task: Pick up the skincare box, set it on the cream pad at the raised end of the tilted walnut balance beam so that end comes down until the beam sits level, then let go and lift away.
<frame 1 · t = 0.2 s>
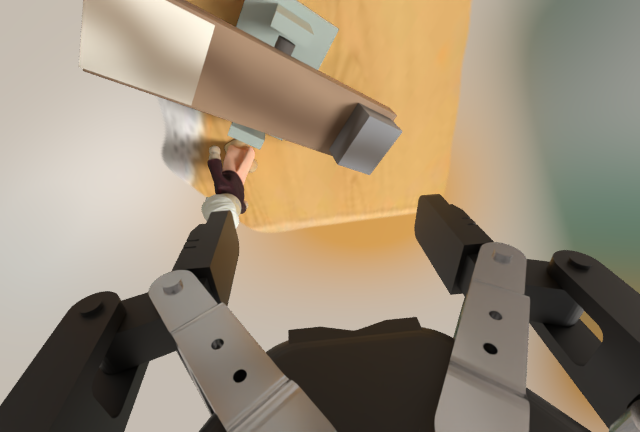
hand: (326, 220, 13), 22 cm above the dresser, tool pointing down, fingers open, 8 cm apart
beam: (271, 95, 23), point 8 cm above the dresser, hinge at -15.0°
beam stand: (270, 67, 29), on the dresser
grandmother figurine: (239, 151, 35), on the dresser
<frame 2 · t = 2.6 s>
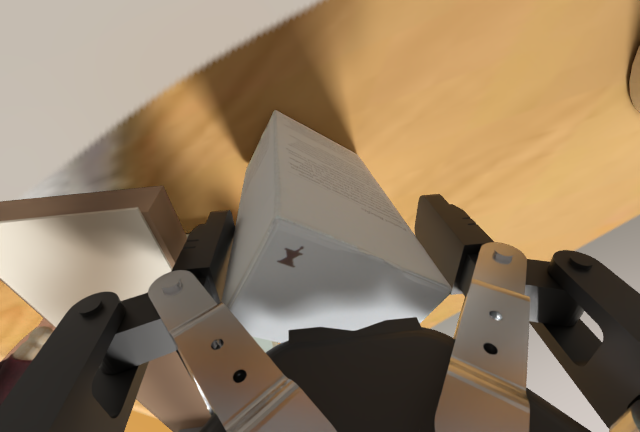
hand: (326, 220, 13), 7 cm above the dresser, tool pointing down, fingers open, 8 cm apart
skincare box: (303, 161, 19), on the dresser, touching gripper
beam: (180, 376, 16), point 8 cm above the dresser, hinge at -6.0°, touching gripper
grandmother figurine: (84, 291, 23), on the dresser
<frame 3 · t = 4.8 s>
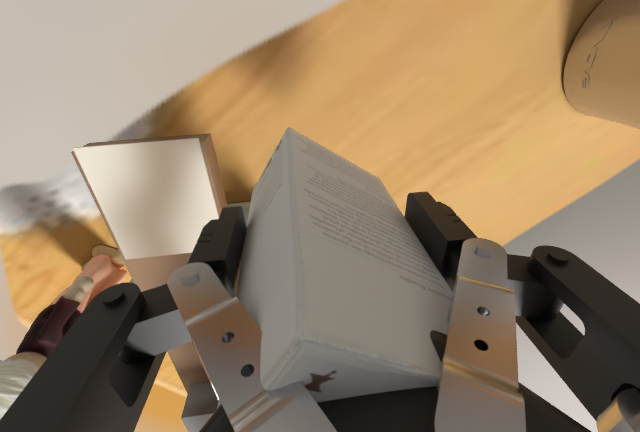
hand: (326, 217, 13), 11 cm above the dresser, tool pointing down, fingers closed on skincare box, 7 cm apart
skincare box: (317, 183, 17), point 7 cm above the dresser, touching gripper
beam: (201, 313, 20), point 8 cm above the dresser, hinge at 1.7°
grandmother figurine: (109, 259, 26), on the dresser
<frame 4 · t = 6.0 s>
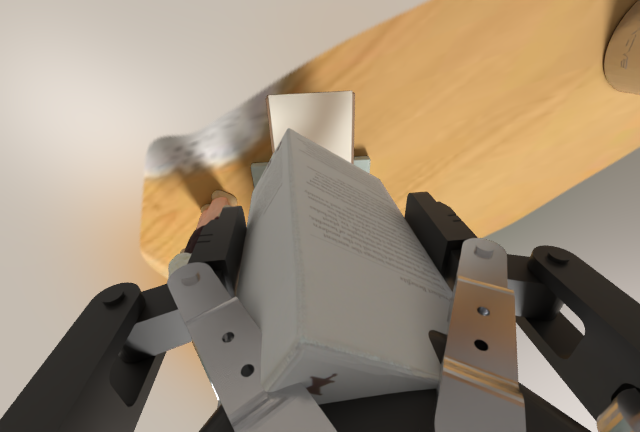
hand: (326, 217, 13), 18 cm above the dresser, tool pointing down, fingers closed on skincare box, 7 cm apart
skincare box: (317, 184, 17), point 14 cm above the dresser, touching gripper
beam: (317, 234, 26), point 8 cm above the dresser, hinge at 1.7°
beam stand: (312, 193, 33), on the dresser
grandmother figurine: (222, 203, 33), on the dresser
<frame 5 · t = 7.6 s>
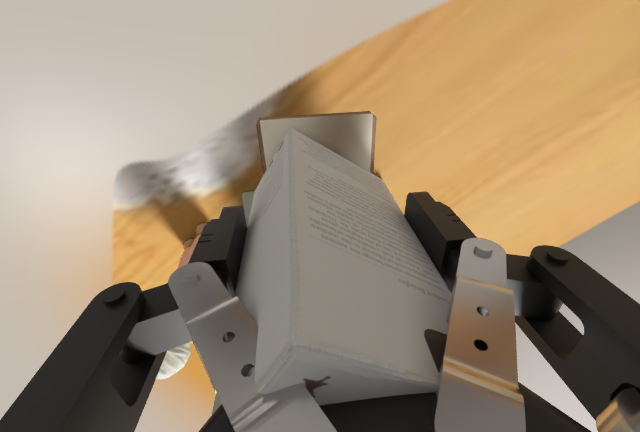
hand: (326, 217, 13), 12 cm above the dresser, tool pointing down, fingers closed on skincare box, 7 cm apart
skincare box: (319, 184, 17), point 8 cm above the dresser, touching beam, gripper
beam: (324, 286, 21), point 8 cm above the dresser, hinge at 1.7°, touching skincare box
grandmother figurine: (208, 237, 28), on the dresser
when the fingers open (12 cm above the dresser, at t = 8.7 s): skincare box stays where it is, resting on beam.
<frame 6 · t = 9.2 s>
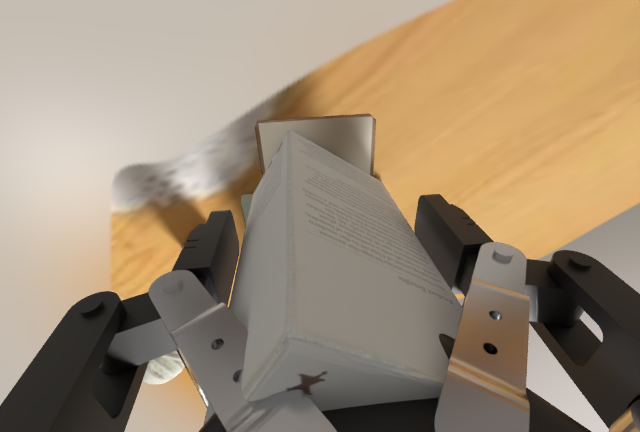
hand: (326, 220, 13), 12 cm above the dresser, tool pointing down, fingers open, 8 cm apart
skincare box: (318, 186, 17), point 8 cm above the dresser, touching beam
beam: (323, 289, 21), point 8 cm above the dresser, hinge at 1.5°, touching skincare box
grandmother figurine: (207, 239, 27), on the dresser
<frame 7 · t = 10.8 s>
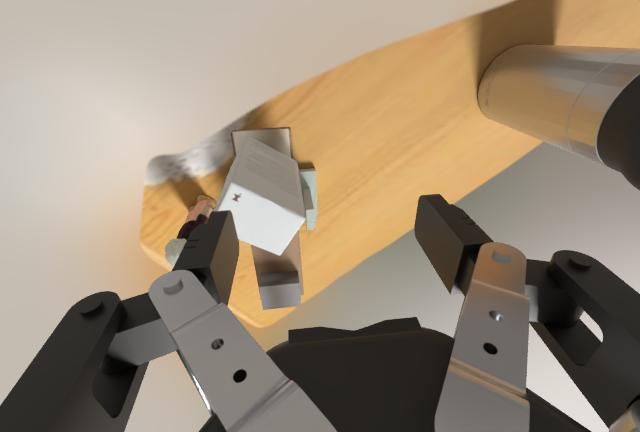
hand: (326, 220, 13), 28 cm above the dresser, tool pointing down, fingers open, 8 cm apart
skincare box: (265, 164, 32), point 8 cm above the dresser, touching beam
beam: (273, 226, 36), point 8 cm above the dresser, hinge at 1.5°, touching skincare box
beam stand: (274, 196, 43), on the dresser
grandmother figurine: (204, 204, 43), on the dresser
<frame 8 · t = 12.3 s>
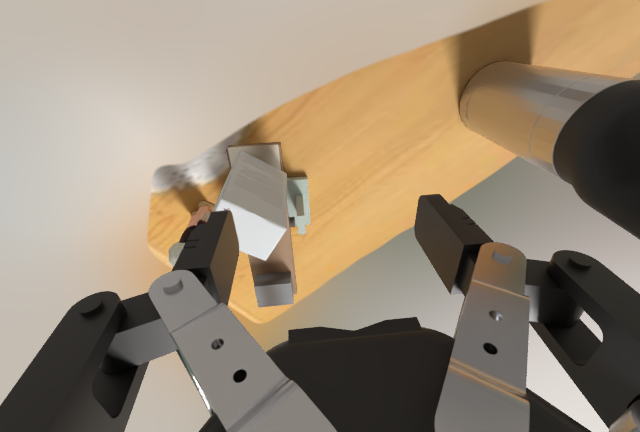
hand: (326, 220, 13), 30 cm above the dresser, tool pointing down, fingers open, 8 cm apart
skincare box: (257, 175, 35), point 8 cm above the dresser, touching beam
beam: (266, 231, 39), point 8 cm above the dresser, hinge at 1.5°, touching skincare box
beam stand: (270, 202, 46), on the dresser
grandmother figurine: (206, 209, 46), on the dresser
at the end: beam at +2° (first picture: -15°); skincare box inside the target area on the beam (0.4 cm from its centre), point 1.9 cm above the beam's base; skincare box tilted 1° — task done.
